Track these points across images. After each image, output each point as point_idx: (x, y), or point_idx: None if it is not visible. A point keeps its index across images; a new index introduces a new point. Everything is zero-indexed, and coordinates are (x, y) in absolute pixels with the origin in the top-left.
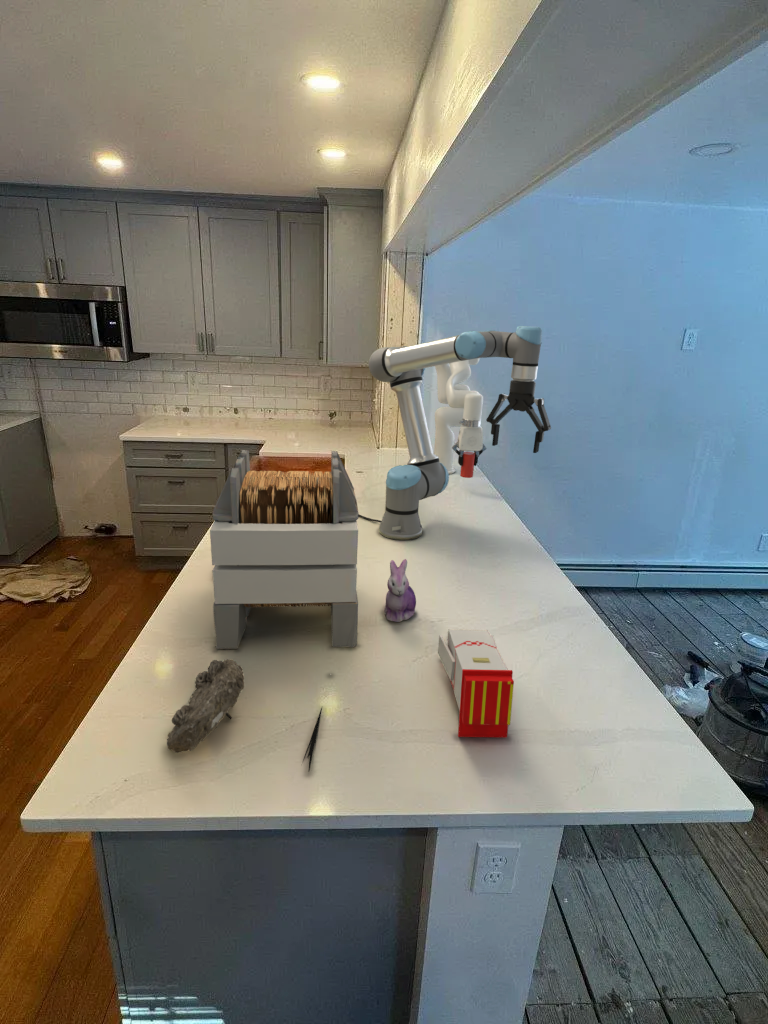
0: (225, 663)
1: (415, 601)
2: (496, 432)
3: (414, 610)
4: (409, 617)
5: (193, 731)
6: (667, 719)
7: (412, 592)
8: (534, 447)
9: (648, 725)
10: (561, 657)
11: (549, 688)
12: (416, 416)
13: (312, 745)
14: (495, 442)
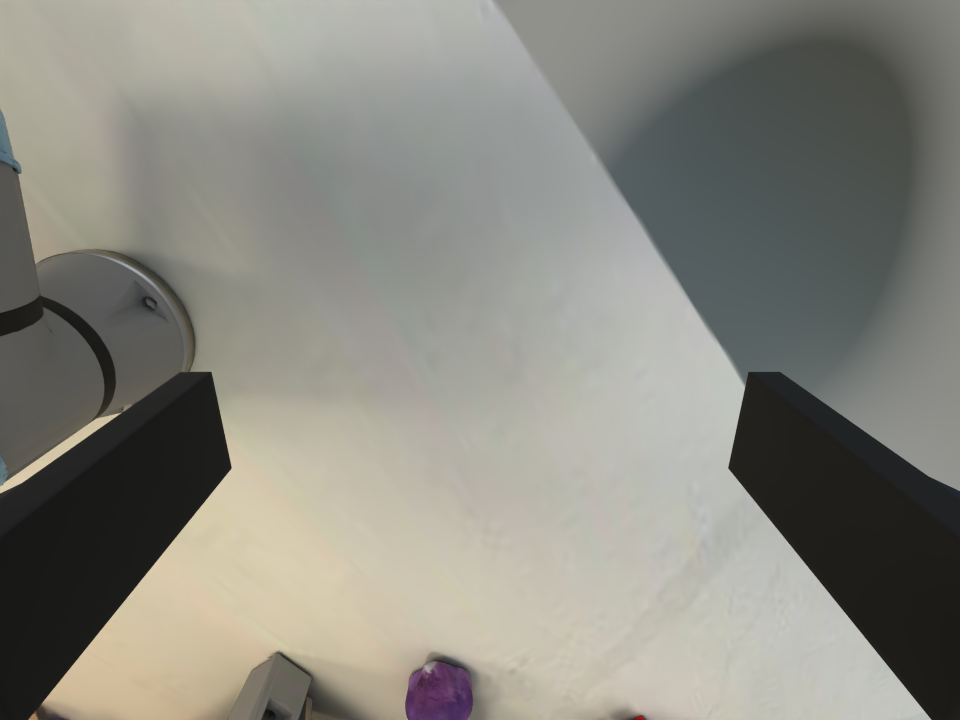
0: None
1: (470, 701)
2: (116, 576)
3: (469, 680)
4: (471, 689)
5: None
6: None
7: (459, 716)
8: (772, 509)
9: (904, 712)
10: (766, 645)
11: (757, 715)
12: None
13: None
14: (207, 466)
